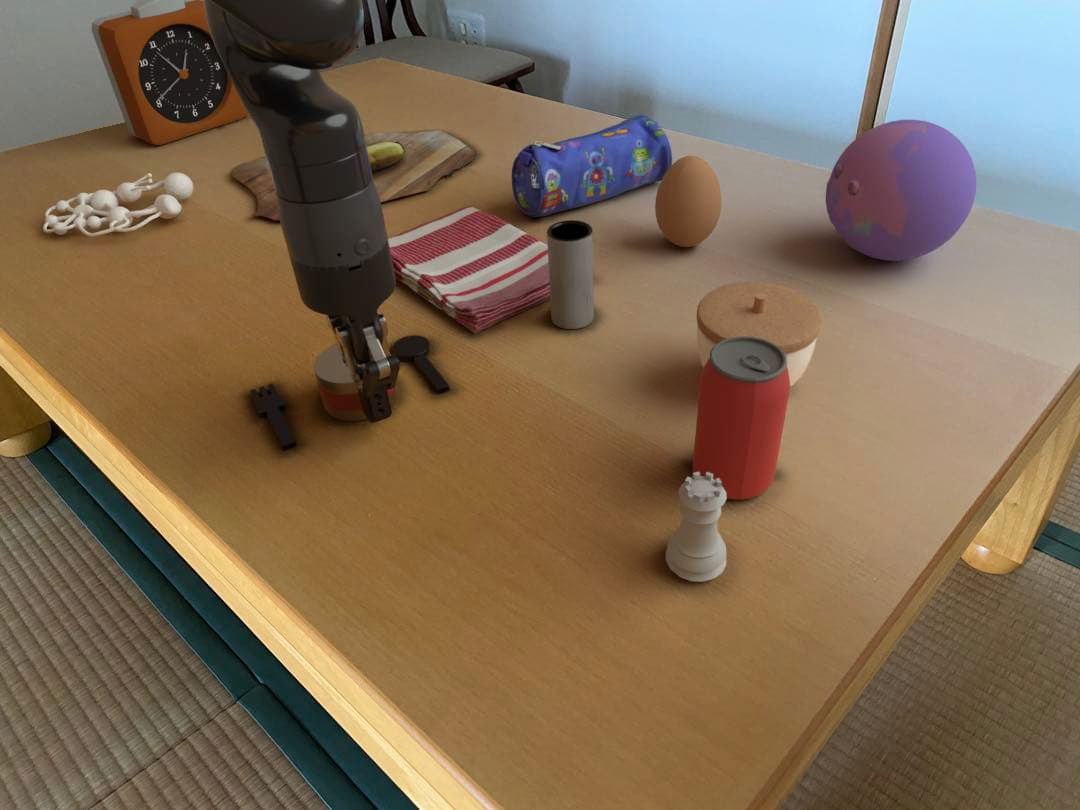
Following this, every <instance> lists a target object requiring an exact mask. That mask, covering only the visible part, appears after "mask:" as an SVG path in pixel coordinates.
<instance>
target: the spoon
mask: <svg viewBox="0 0 1080 810" xmlns="http://www.w3.org/2000/svg"><path fill="white" fill-rule="evenodd" d="M430 352H431V342H430V341H429V339H428V338H426V337H424V336H422V335H414V334H413V335H406V336H404V337H401V338H399V339H397V340H396V341H395V342H394V343H393V345H392V353H393V354H392V355H394V354H395V355H396V357H397V358H398V359H399V361H401V362H405V363H406V362H410V363H411V362H413V363H414V364H415V365H416V367H417V368H418V369H419V371H420V372H421V373H422V374H423V376H424V377H425V378H426V380H427V381H428V382H429V383H430V385H431V387H432V388H433V389H434V390H435V391H436V393H437V394H438V395H440V394H443V393H446V392H449V391H450V390H451V389H450V384H449V383H448V382H447V381H446V379H444V377H443V376H442V375H441V373H440V372H439V371H438V369H437V368H436V366H434V365H433V363H432V362H431V361H430V359H429V357H427V356H428V355H429V354H430Z"/></svg>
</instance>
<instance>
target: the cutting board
mask: <svg viewBox="0 0 1080 810" xmlns="http://www.w3.org/2000/svg"><path fill="white" fill-rule="evenodd" d="M364 136H365V141H366V146H367V151H368V156H369V161H370V166H371V171H372V177H373V181H374V184H375V188H376V190H377V193H378V196H379V199H380V202H381V203H383V202H387V201H391V200H394V199H398V198H402V197H405V196H406V197H407V196H410V195H414V194H418V193H422V192H427V191H429V190H430V189H431V188H432V187H433V186H434V185H435V184H436V183H437V182H438V181H439V180H440V179H441V178H442V177H446V176H447V175H450V174H452V173H453V171H456V170H459V169H462V168H463V167H464V166H466V165H467V164H469V163H471V162H473V160H474V159H475V157H476V155H477V154H476V152H475V150H473V148H471V147H469V145H467V144H465V143H464V142H462V141H461V140H460V139H459V138H456V137H454V136H452V135H451V134H449V133H447V132H444V131H442V130H440V129H439V130H428V131H411V132H388V133H385V132H384V133H383V132H374V133H369V134H364ZM231 177H232V178H234V179H235V180H237V181H239V182H240V183H241V184H243V185H244V186H246V187H247V188H248V189H249V190H250V191H251V192H252V193H253V195H255V196H256V201H257V202H256V203H257V209H256V211H255V212H254V213H253V214H251V217H256V216H258V217H260V216H261V217H263V218H267V219H271V220H274V221H280V217H279V210H278V202H277V197H276V191H275V188H274V184H273V180H272V177H271V173H270V169H269V166H268V162H267V158H266V156H265V157H261V158H257V159H253V160H249V161H246V162H242V163H240V164H238V165H236V166H234V167H233V168H231Z"/></svg>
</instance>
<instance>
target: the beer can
mask: <svg viewBox="0 0 1080 810" xmlns="http://www.w3.org/2000/svg"><path fill="white" fill-rule="evenodd" d="M699 380H700V381H699V389H698V391H699V392H698V404H697V413H696V425H695V434H694V435H695V436H694V445H693V457H692V474H693V473H695V472H700V476H705V477H706V472H709V473H712V474H713V479H714V480H715V479H717V478H719V479H720V480H721V482H722V487H723V488H724V490H725V491H726V496H727V499H726V500H737V501H740V500H742V501H743V500H747V499H753V498H755V497H757V496H759V495H761V494H763V493H765V492H766V491H767V490H768V489H769V488H770V487H771V486H772V484H773V481H774V479H775V476H776V472H777V471H776V469H777V464H778V460H779V453H780V448H781V442H782V438H783V431H784V426H785V420H786V416H787V415H786V414H787V409H788V403H789V399H790V392H791V387H790V380H789V372H788V369H787V357H786V355H785V354H784V352H783V351H782V349H780V348H779V347H778V346H776V345H775V344H774V343H771V342H769V341H767V340H764V339H761V338H756V337H748V336H739V337H732V338H728V339H725V340H723V341H720V342H719V343H717V344H716V345H715V346H713V348H712V350H711V352H710V358H709V359H708V361H707V363H706V364H705V366H704V368H703V367H702V371H701V373H700V379H699Z"/></svg>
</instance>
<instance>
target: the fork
mask: <svg viewBox="0 0 1080 810" xmlns="http://www.w3.org/2000/svg"><path fill="white" fill-rule="evenodd" d="M267 387H268V390H269V392H270V394H269V393H268V391H267V389H266V387H265V385H262V386H259V387H258V389H259V392H260V395H261V397H260V396H259V394H258V392H257V390H256V388H253V389H250V390H249V393H250V394H251V397H252V399H253V403H254V406H255V408H256V410H257V412H258V414H259V417H260V418H265V417H267V418H268V420H269V422H270V424H271V426H272V428H273V430H274V433H275V435H276V437H277V439H278V441H279V443H280V446H281V448H282V450H283V451H287V450H290V449H292V448H296V447H297V446H298V444H297V441H296V439H295V436H294V435H293V433H292V431H291V429H290V427H289V425H288V423H287V421H286V419H285V416H284V415H283V413H282V411H285V410H287V407H286V405H285V402H284V400H283V399H282V396H281V394H280V392H279V391H278V390H277V389H276V387H275V384H274V383H273V382H271V383H268V384H267Z"/></svg>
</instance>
